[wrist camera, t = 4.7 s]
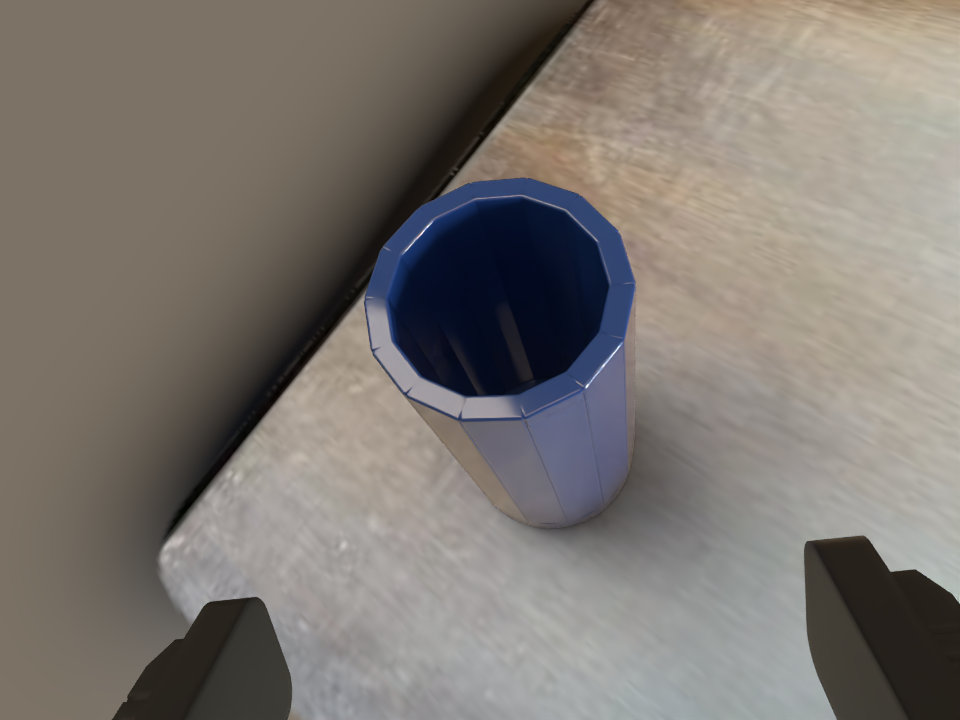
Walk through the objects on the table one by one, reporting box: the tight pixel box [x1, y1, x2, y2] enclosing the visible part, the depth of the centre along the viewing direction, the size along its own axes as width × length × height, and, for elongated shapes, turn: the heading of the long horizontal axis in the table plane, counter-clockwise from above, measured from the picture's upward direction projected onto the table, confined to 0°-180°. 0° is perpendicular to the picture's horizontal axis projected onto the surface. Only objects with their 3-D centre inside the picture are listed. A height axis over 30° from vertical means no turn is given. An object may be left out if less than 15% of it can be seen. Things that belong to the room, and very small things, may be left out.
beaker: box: [364, 178, 636, 528], centre depth 18 cm, size 5×5×10 cm
